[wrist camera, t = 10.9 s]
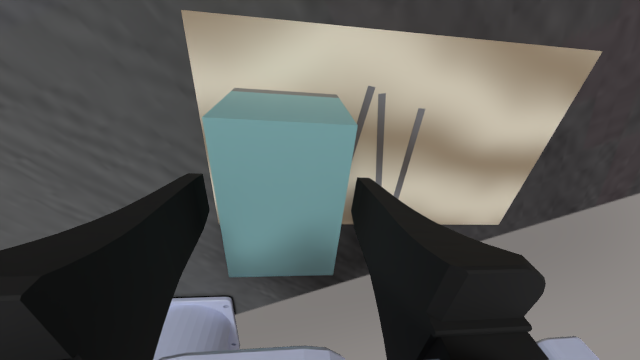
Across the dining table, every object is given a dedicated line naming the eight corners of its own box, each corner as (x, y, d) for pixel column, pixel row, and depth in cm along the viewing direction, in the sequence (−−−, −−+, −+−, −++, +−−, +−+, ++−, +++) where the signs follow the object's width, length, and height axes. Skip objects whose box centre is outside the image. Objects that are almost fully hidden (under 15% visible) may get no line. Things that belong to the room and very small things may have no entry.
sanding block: (323, 213, 17) (332, 274, 13) (246, 213, 16) (229, 277, 12) (336, 94, 13) (357, 125, 8) (234, 87, 12) (201, 117, 8)
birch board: (485, 212, 20) (498, 224, 19) (224, 210, 18) (218, 224, 16) (574, 49, 14) (602, 51, 13) (193, 12, 12) (180, 9, 10)
